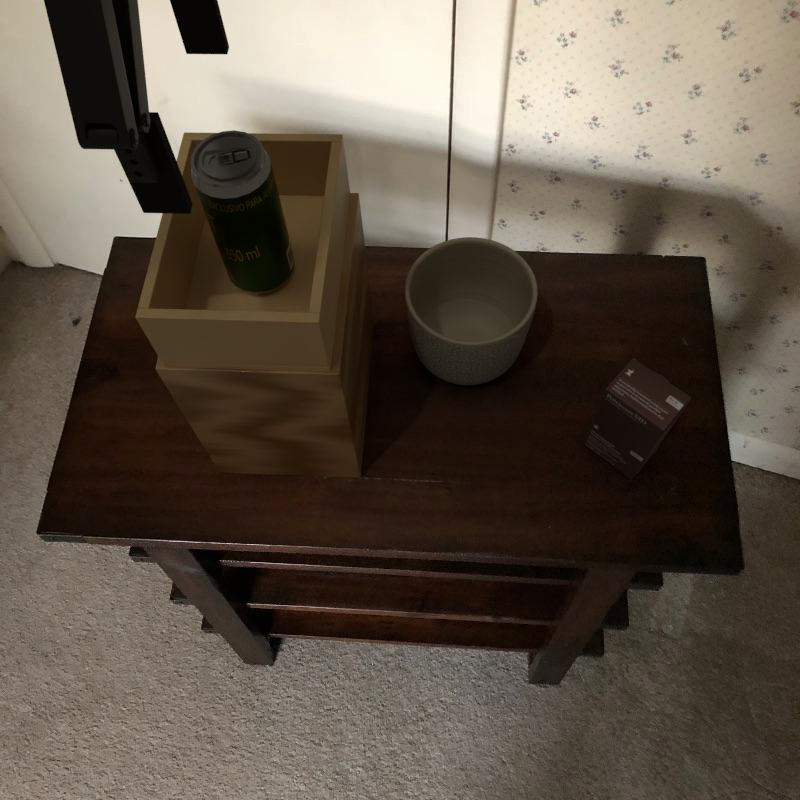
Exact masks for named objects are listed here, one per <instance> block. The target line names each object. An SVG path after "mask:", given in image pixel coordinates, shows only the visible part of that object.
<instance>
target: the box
mask: <svg viewBox="0 0 800 800" xmlns="http://www.w3.org/2000/svg"><path fill="white" fill-rule="evenodd" d="M691 400H692V399H691V396H690V395H688V394H686V393H685V392H684V391H682V390H681V389H679V388H677V387H676V386H674V385H673V384H672V383H671V382H670V381H669V380H668V379H667V378H665V377H664V376H663V375H662V374H659V373H657V372H656V371H652V370H651V369H649V368H648V367H646V365H644V364H642V362H639V361H638V360H637V359H636V358H634V357H633V358H632V359H630V361H629V362H628V363H627V364H626V365H625V366H624V368H623V369H622V370H621V371H620V372H619V373H618V375H616V377H615V378H614V379H613V380H612V381H611V382H610V383H609V385H608V386H607V387H606V388H605V391H604V392H603V395H602V397H601V399H600V402H599V404H598V407H597V409H596V411H595V414H594V416H593V418H592V420H591V422H590V425H589V428H588V430H587V432H586V435H585V437H584V439H583V442H582V445H583V446H585V447H586V448H588V449H589V450H591V451H592V452H593V453H595V454H596V455H597V456H598V457H600V458H602V460H604V461H605V462H607V463H608V464H610V465H611V466H612V467H614V469H616V470H617V471H618V472H620V473H621V474H622V475H624V476H625V477H626V478H627V479H629V480H631V481H632V480H634V478H635V477H636V476H637V474H638V473H639V472H640V471H641V470H642V469H643V468H644V466H645V465H646V464H647V463H648V462H649V460H650V459H651V458H652V457H653V455H654V454H656V452H657V451H658V449H659V448H660V446H661V445H662V443H663V442H664V440H665V439H666V437H667V435H668V434H669V432H670V431H671V430H672V428H673V427H674V425H675V423H676V422H677V420H678V419H679V417H680V416H681V415H682V413H683V412H684V410H686V407H687V406H688V404H689V403H690V402H691Z"/></svg>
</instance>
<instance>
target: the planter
mask: <svg viewBox="0 0 800 800" xmlns="http://www.w3.org/2000/svg"><path fill="white" fill-rule="evenodd" d="M538 290H539V289H538V283H537V279H536V275H535V274H534V271H533V270H532V268H531V266H530V264H529V263H528V262H527V261H526V260H525V258H524V257H522V256H521V254H519V253H518V252H517V251H515V250H514V249H512V248H511V247H509V246H508V245H506V244H504V243H501V242H499V241H496V240H492V239H489V238H485V237H473V236H464V237H456V238H451V239H447V240H445V241H442V242H439V243H437V244H435V245H433V246H432V247H430V248H428V249H427V250H425V251H424V252H423V253H422V254H420V255H419V256H418V258H416V260H415V261H414V262H413V264H412V265H411V267H410V269H409V271H408V273H407V275H406V279H405V284H404V301H405V310H406V319H407V323H408V329H409V333H410V337H411V338H410V339H411V342H412V345H413V348H414V352H415V354H416V355H417V357H418V359H419V361H420V362H421V364H422V365H423V366H424V367H425V368H426V369H427V370H428V371H429V373H431V374H433V375H434V376H436V377H437V378H438V379H440V380H441V381H444V382H447V383H449V384H454V385H460V386H477V385H482V384H486V383H489V382H491V381H494V380H495V379H497V378H499V377H501V376H503V374H504V373H506V372H507V371H508V370H509V369H510V368H511V367H512V366H513V365H514V363H515V362H516V360H517V358H518V357H519V355H520V353H521V351H522V349H523V346H524V344H525V342H526V339H527V337H528V333H529V331H530V329H531V325H532V321H533V319H534V315H535V311H536V308H537V303H538V295H539V293H538Z"/></svg>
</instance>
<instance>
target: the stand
mask: <svg viewBox="0 0 800 800" xmlns="http://www.w3.org/2000/svg"><path fill="white" fill-rule="evenodd" d="M360 200H361V199H360V193H359V192H350V202H349V211H348V220H347V228H346V237H345V246H344V255H343V264H342V272H341V281H340V290H339V299H338V308H337V317H336V325H335V334H334V343H333V352H332V361H331V369H330V372H320V371H287V370H253V369H220V368H187V367H164V365H163V362H162V361H161V360H160V358H159V356H158V355H157V360H156V364H155V369H154V370H155V371H156V373H157V375H158V376H159V378H160V379H161V381H162V383H163V384H164V386H165V387H166V389H167V391H168V392H169V394H170V395H171V397H172V398H173V400H174V402H175V404H176V405H177V406H178V408H179V410H180V411H181V413H182V415H183V416H184V418H185V419H186V421H187V423H188V425H189V426H190V427H191V429H192V431H193V432H194V434H195V436H196V437H197V439H198V440H199V442H200V444H201V446H202V447H203V448H204V450H205V452H206V454H207V455H208V457H209V458H210V460H211V462H212V464H213V465H214V467H215V468H216V470H217V471H218V472H219V473H224V474H246V475H248V474H249V475H252V474H253V475H276V476H299V477H301V476H303V477H326V478H327V477H329V478H330V477H331V478H354V479H356V478H357V479H361V478H362V470H363V469H362V468H363V456H364V447H365V446H364V444H365V435H366V434H365V433H366V420H367V410H368V400H369V399H368V398H369V389H370V387H369V386H370V377H371V376H370V374H371V365H372V364H371V362H372V351H373V341H374V340H373V339H374V329H375V328H374V327H375V321H374V312H373V303H372V296H371V287H370V278H369V269H368V262H367V253H366V245H365V235H364V227H363V226H364V225H363V218H362V208H361V201H360Z"/></svg>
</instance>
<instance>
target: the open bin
mask: <svg viewBox="0 0 800 800" xmlns="http://www.w3.org/2000/svg"><path fill="white" fill-rule="evenodd" d="M216 133H217V132H183V135H182V139H181V142H180V145H179V150H178V153H177V157H176V161H177V164H178V166H179V169H180V172H181V174H182V177H183V180H184V182H185V185H186V188H187V190H188V193H189V196H190V198H191V201H192V203H193V204H192V209H191V213H190V214H172V213H161V218H160V221H159V226H158V229H157V233H156V237H155V241H154V244H153V248H152V252H151V256H150V260H149V264H148V267H147V272H146V275H145V278H144V283H143V286H142V290H141V294H140V297H139V302H138V305H137V310H136V313H135V320H136V321H137V323H138V324H139V326H140V328H141V330H142V331H143V333H144V335H145V336H146V338H147V340H148V341H149V343H150V345H151V347H152V348H153V350H154V351H155V353H156V354H157V357H158V356H159V358H160V360H161V361H162V362H163V365H164V367H187V368H220V369H253V370H287V371H320V372H330V369H331V361H332V352H333V343H334V334H335V325H336V317H337V308H338V299H339V290H340V281H341V272H342V264H343V255H344V246H345V237H346V228H347V220H348V211H349V202H350V193H351V189H350V188H351V187H350V181H349V174H348V173H349V172H348V167H347V159H346V149H345V143H344V135H343V133H341V134H339V133H336V134H335V133H333V134H331V133H266V132H265V133H264V132H263V133H261V132H260V133H258V132H257V133H255V132H251V133H250V132H247V133H248V134H251V135H253V136H255V137H256V138H257V139H258V140H259V141H260V142H261V144H262V146H263V148H264V150H265V151H266V152H267V154H268V156H269V158H270V160H271V164H272V168H273V172H274V177H275V181H276V185H277V189H278V193H279V197H280V201H281V205H282V209H283V214H284V218H285V222H286V226H287V230H288V234H289V238H290V242H291V246H292V251H293V255H294V268H293V271H292V274H291V276H290V278H289V280H288V281H287V282H286V284H285V285H284V286H283V287H281V288H280V289H278V290H277V291H274V292H272V293H269V294H262V295H255V294H250V293H247V292H245V291H243V290H241V289H240V288H238V287H236V286H235V285H234V283H233V282H232V281H231V280H230V279H229V276H228V274H227V271H226V268H225V266H224V263H223V260H222V258H221V255H220V252H219V250H218V247H217V244H216V242H215V239H214V236H213V234H212V231H211V228H210V226H209V223H208V220H207V218H206V215H205V212H204V210H203V207H202V204H201V202H200V199H199V196H198V194H197V191H196V188H195V186H194V183H193V180H192V178H191V171H192V168H191V165H190V164H191V155H192V153H193V151H194V149H195V147H196V146H197V145H198V144H199V143H200V142H201V141H202V140H204V139H206V138H207V137H209V136H211V135H213V134H216Z"/></svg>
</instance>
